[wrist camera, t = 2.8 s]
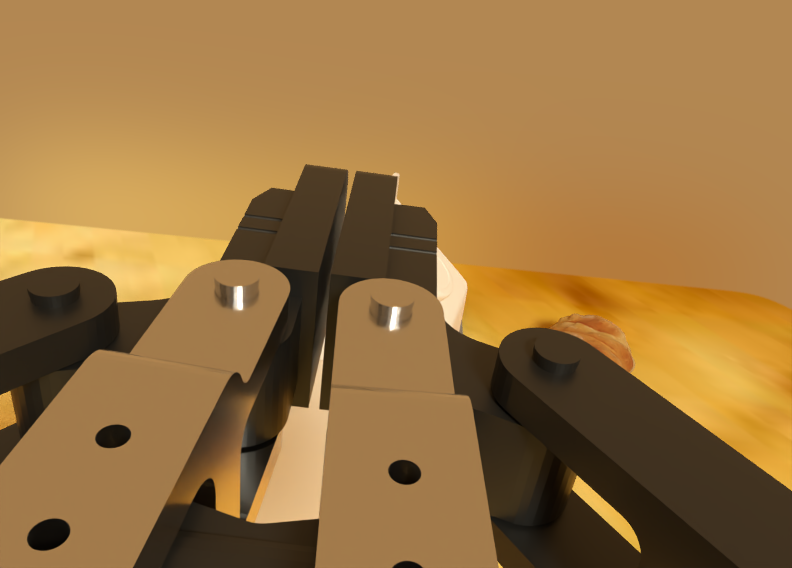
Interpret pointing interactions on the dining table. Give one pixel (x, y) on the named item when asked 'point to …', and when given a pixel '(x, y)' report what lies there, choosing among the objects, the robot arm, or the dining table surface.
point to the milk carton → (306, 427)
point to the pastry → (599, 337)
